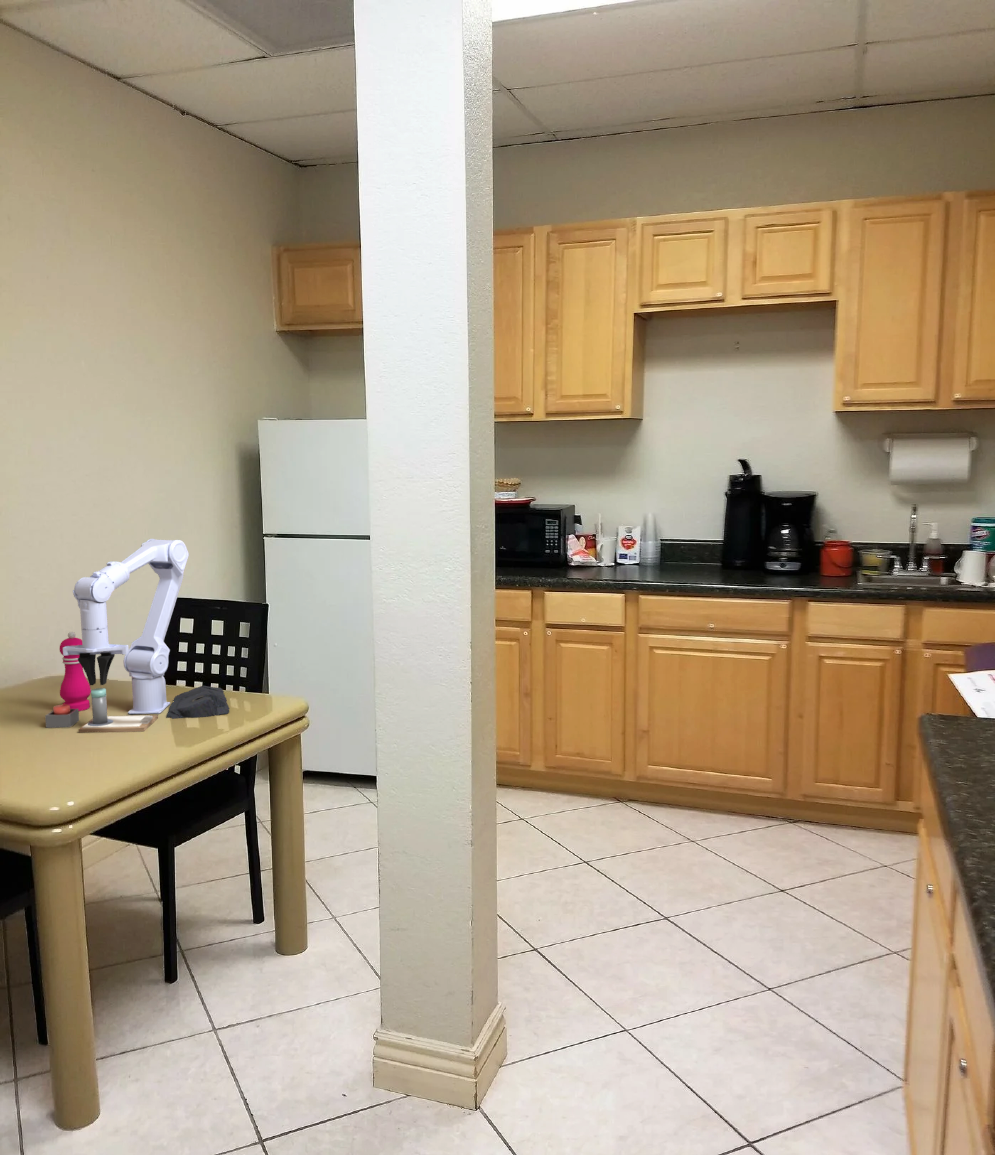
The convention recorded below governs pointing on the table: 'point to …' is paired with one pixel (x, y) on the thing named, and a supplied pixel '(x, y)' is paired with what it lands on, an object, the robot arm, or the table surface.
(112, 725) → the clipboard
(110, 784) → the table surface
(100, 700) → the marker
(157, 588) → the robot arm
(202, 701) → the dark slate chunk
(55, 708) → the button
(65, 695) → the pepper mill
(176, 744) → the table surface
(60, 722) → the button box
